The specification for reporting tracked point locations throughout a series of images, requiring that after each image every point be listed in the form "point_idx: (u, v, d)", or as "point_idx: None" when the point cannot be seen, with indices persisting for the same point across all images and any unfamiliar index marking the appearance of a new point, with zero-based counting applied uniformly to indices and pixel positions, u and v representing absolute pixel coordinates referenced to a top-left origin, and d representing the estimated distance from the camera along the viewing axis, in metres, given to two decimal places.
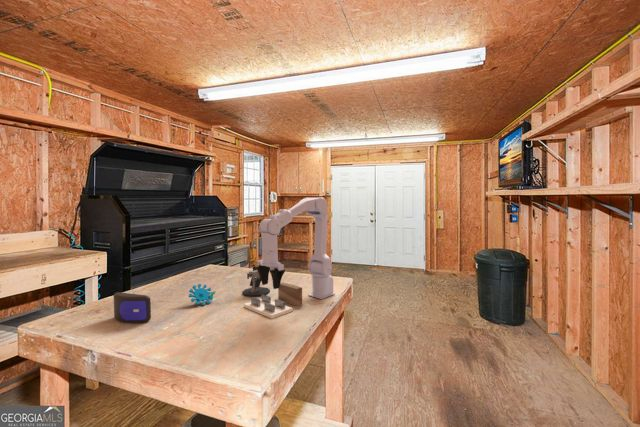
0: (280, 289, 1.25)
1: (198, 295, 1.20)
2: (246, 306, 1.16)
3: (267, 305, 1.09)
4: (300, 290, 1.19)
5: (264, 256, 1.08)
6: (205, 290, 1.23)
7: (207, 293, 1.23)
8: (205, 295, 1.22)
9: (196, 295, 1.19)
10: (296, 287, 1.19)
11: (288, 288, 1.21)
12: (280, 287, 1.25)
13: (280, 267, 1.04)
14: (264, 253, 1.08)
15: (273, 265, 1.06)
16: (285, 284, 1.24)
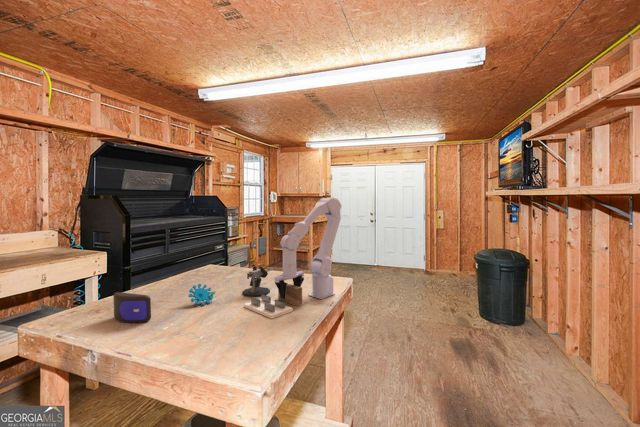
0: None
1: (198, 295, 1.20)
2: (246, 306, 1.16)
3: (267, 305, 1.09)
4: (300, 290, 1.19)
5: None
6: (205, 290, 1.23)
7: (207, 293, 1.23)
8: (205, 295, 1.22)
9: (196, 295, 1.20)
10: (296, 287, 1.19)
11: (288, 288, 1.21)
12: None
13: (275, 279, 1.17)
14: None
15: None
16: None
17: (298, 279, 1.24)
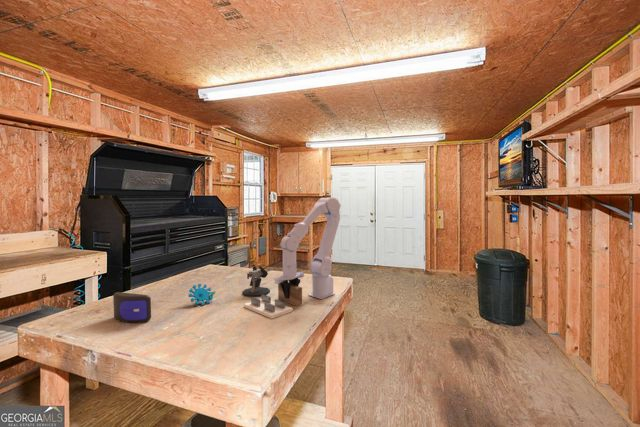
0: (280, 289, 1.25)
1: (198, 295, 1.20)
2: (246, 306, 1.16)
3: (267, 305, 1.09)
4: (300, 290, 1.19)
5: None
6: (205, 290, 1.23)
7: (207, 293, 1.23)
8: (205, 295, 1.22)
9: (196, 295, 1.20)
10: (296, 287, 1.19)
11: None
12: (280, 287, 1.25)
13: (275, 280, 1.17)
14: None
15: None
16: None
17: (294, 281, 1.23)
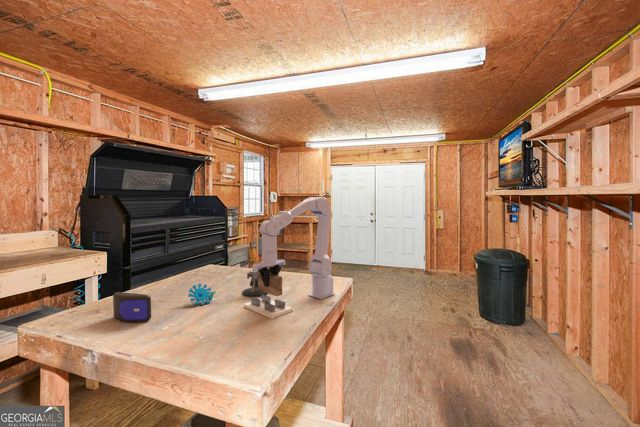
0: (259, 279, 1.17)
1: (198, 295, 1.20)
2: (246, 306, 1.16)
3: (267, 305, 1.09)
4: (280, 279, 1.11)
5: None
6: (205, 290, 1.24)
7: (207, 293, 1.23)
8: (205, 295, 1.22)
9: (196, 295, 1.20)
10: (276, 276, 1.12)
11: None
12: (260, 277, 1.17)
13: (253, 267, 1.10)
14: None
15: None
16: None
17: (275, 268, 1.15)
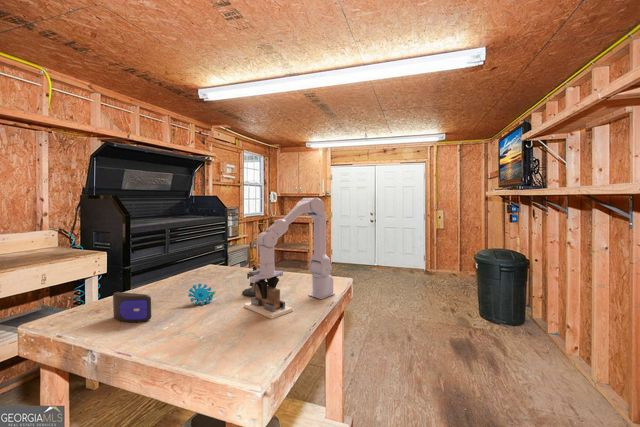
0: (257, 291, 1.16)
1: (198, 295, 1.20)
2: (246, 306, 1.16)
3: (267, 305, 1.09)
4: (278, 292, 1.10)
5: None
6: (205, 290, 1.24)
7: (207, 293, 1.23)
8: (205, 295, 1.22)
9: (195, 295, 1.20)
10: (273, 289, 1.11)
11: None
12: (257, 289, 1.16)
13: (250, 279, 1.09)
14: None
15: None
16: None
17: (272, 280, 1.14)
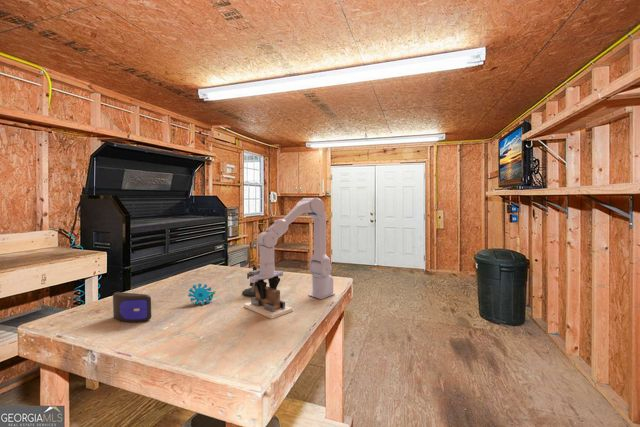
0: (257, 292, 1.16)
1: (197, 295, 1.21)
2: (246, 306, 1.16)
3: (267, 305, 1.09)
4: (278, 293, 1.10)
5: None
6: (205, 290, 1.24)
7: (207, 293, 1.23)
8: (205, 295, 1.22)
9: (195, 294, 1.20)
10: (273, 290, 1.11)
11: (265, 291, 1.13)
12: (257, 290, 1.16)
13: (250, 279, 1.09)
14: None
15: None
16: None
17: (274, 280, 1.15)
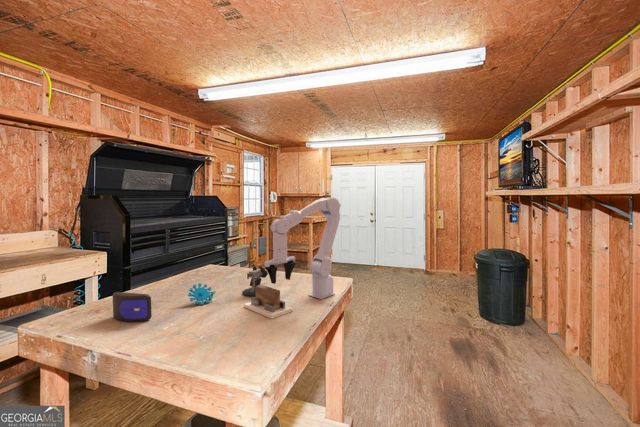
0: (257, 292, 1.16)
1: (197, 294, 1.21)
2: (246, 306, 1.16)
3: (267, 305, 1.09)
4: (278, 293, 1.10)
5: None
6: (205, 290, 1.24)
7: (207, 293, 1.23)
8: (204, 295, 1.22)
9: (195, 294, 1.20)
10: (273, 290, 1.11)
11: (265, 291, 1.13)
12: (257, 290, 1.16)
13: (265, 263, 1.15)
14: None
15: None
16: (263, 286, 1.16)
17: (289, 264, 1.22)
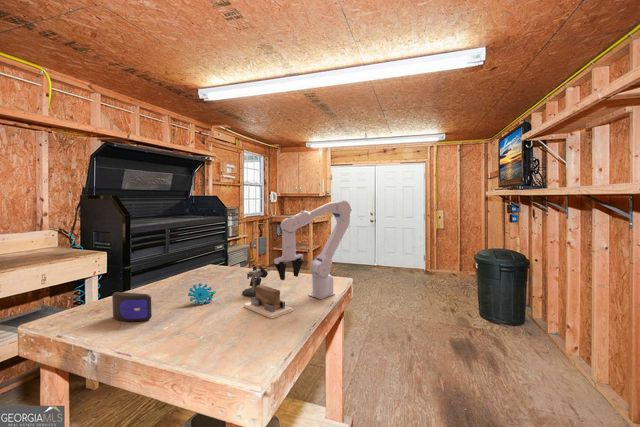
0: (257, 292, 1.16)
1: (197, 294, 1.21)
2: (246, 306, 1.16)
3: (267, 305, 1.09)
4: (278, 293, 1.10)
5: None
6: (205, 289, 1.24)
7: (207, 293, 1.23)
8: (204, 294, 1.22)
9: (195, 294, 1.21)
10: (273, 290, 1.11)
11: (265, 291, 1.13)
12: (257, 290, 1.16)
13: (274, 260, 1.20)
14: None
15: None
16: (263, 286, 1.16)
17: (297, 261, 1.26)
